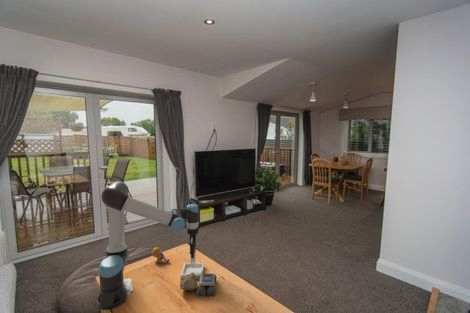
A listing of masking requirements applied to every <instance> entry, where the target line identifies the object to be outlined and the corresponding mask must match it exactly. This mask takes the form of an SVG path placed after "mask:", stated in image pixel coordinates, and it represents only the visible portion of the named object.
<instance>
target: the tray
mask: <svg viewBox="0 0 470 313" xmlns="http://www.w3.org/2000/svg"><path fill="white" fill-rule="evenodd" d="M204 268H205V263H204V262H195V267H194V268H192V267H191V262H184V263H183V266H182V270H181V272H180V274H179V276H180V278H179V279H180V281H181V280H182V281H183V280H184V279H185V278H186V277H187V275H188V274H190V273H192V272H193V273H195V276H196V280H199V277H200V275H201V274H204Z"/></svg>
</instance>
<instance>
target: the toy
mask: <svg viewBox="0 0 470 313" xmlns="http://www.w3.org/2000/svg"><path fill="white" fill-rule="evenodd" d="M151 256H152V257H153V258H156V263H157V264H158V263H159V264H161V263H162V260H163V261H165V263H167V264H168V263H169V262H170V261H171V260H170V259H167V257H166V255H164V254H163V249H161V248H160V247H159V246H155V247H154V248H152V251H151Z"/></svg>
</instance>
